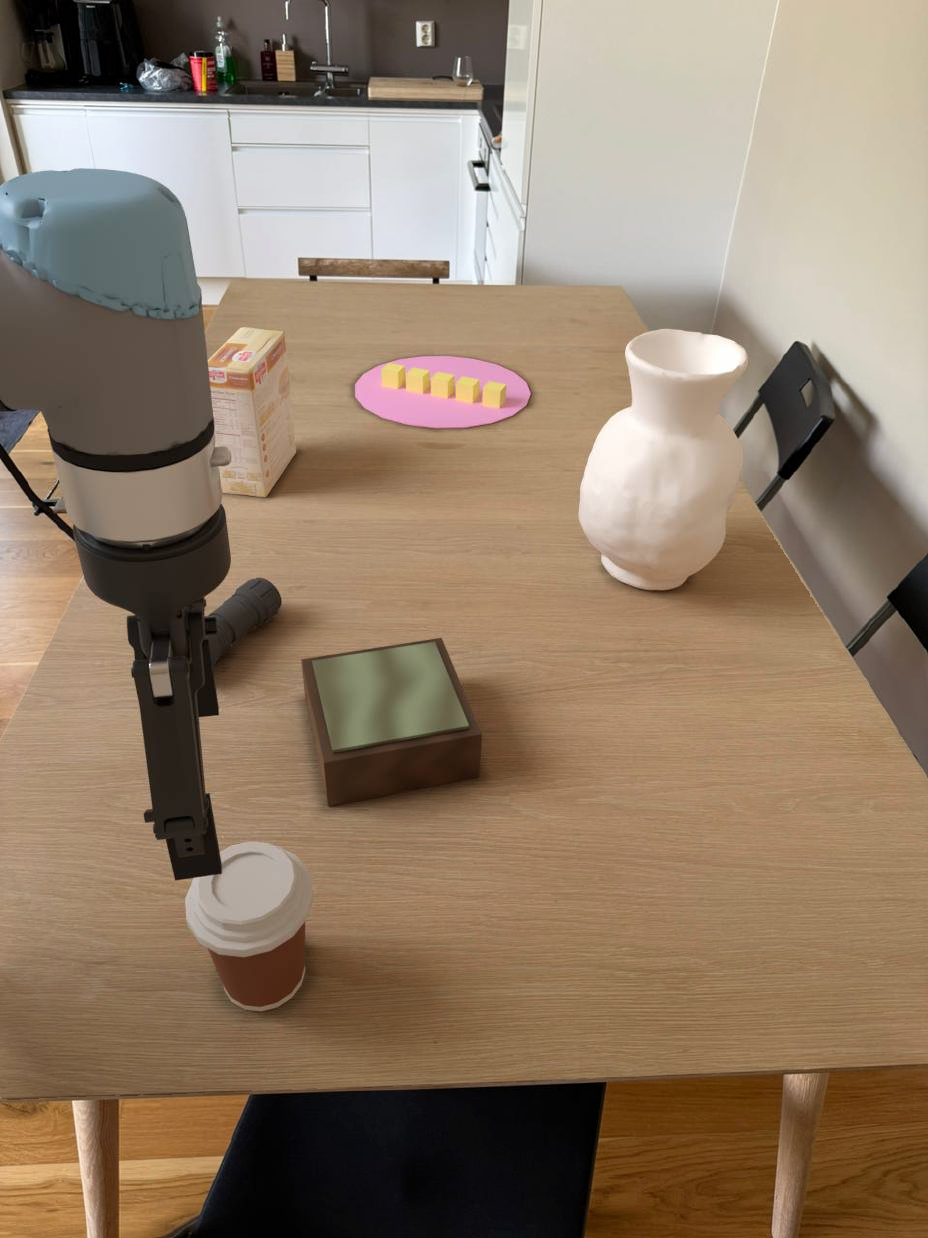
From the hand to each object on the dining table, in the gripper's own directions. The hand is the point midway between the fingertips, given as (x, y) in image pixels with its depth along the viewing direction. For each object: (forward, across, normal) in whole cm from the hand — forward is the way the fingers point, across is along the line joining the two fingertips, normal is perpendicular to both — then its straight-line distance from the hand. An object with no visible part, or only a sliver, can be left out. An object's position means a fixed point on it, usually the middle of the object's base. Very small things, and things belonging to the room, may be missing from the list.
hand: (199, 786), depth 59 cm
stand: (+21, +22, -16) cm, 34 cm away
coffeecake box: (+23, +81, -6) cm, 85 cm away
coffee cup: (+21, -2, -3) cm, 21 cm away
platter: (+22, +107, -40) cm, 117 cm away
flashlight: (+22, +40, 0) cm, 45 cm away
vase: (+20, +46, -54) cm, 74 cm away
